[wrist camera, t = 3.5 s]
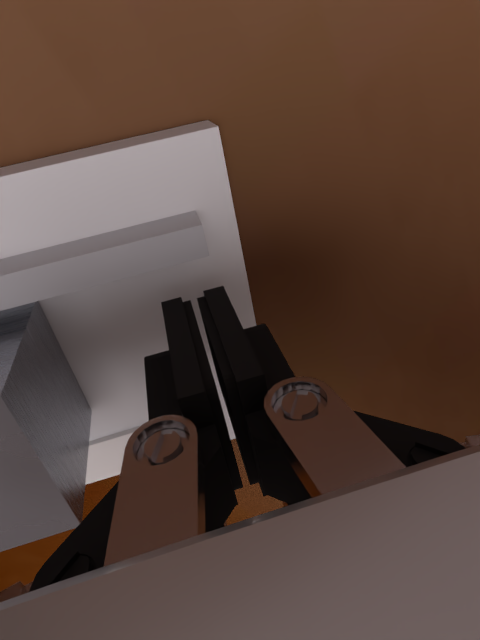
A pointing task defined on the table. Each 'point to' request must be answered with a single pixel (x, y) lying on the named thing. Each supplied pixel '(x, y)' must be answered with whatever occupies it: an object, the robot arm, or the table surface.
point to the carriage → (39, 431)
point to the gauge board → (121, 261)
